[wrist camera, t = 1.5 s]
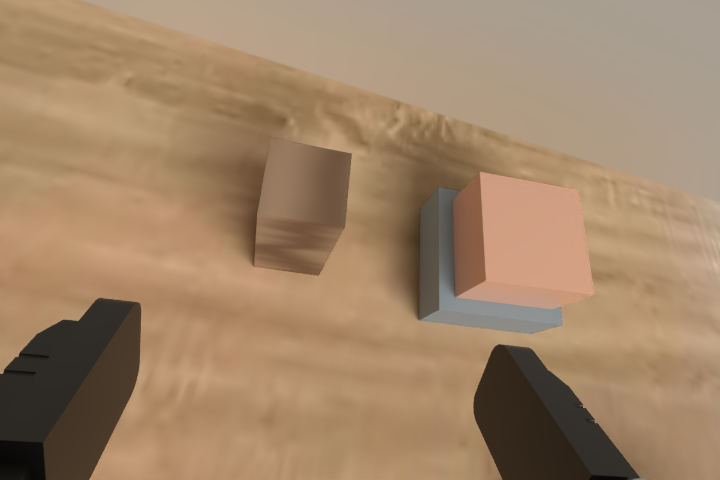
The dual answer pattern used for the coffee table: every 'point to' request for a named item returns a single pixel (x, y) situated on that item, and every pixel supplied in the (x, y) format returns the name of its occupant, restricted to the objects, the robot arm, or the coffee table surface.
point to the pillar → (301, 206)
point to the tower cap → (520, 243)
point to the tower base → (440, 280)
